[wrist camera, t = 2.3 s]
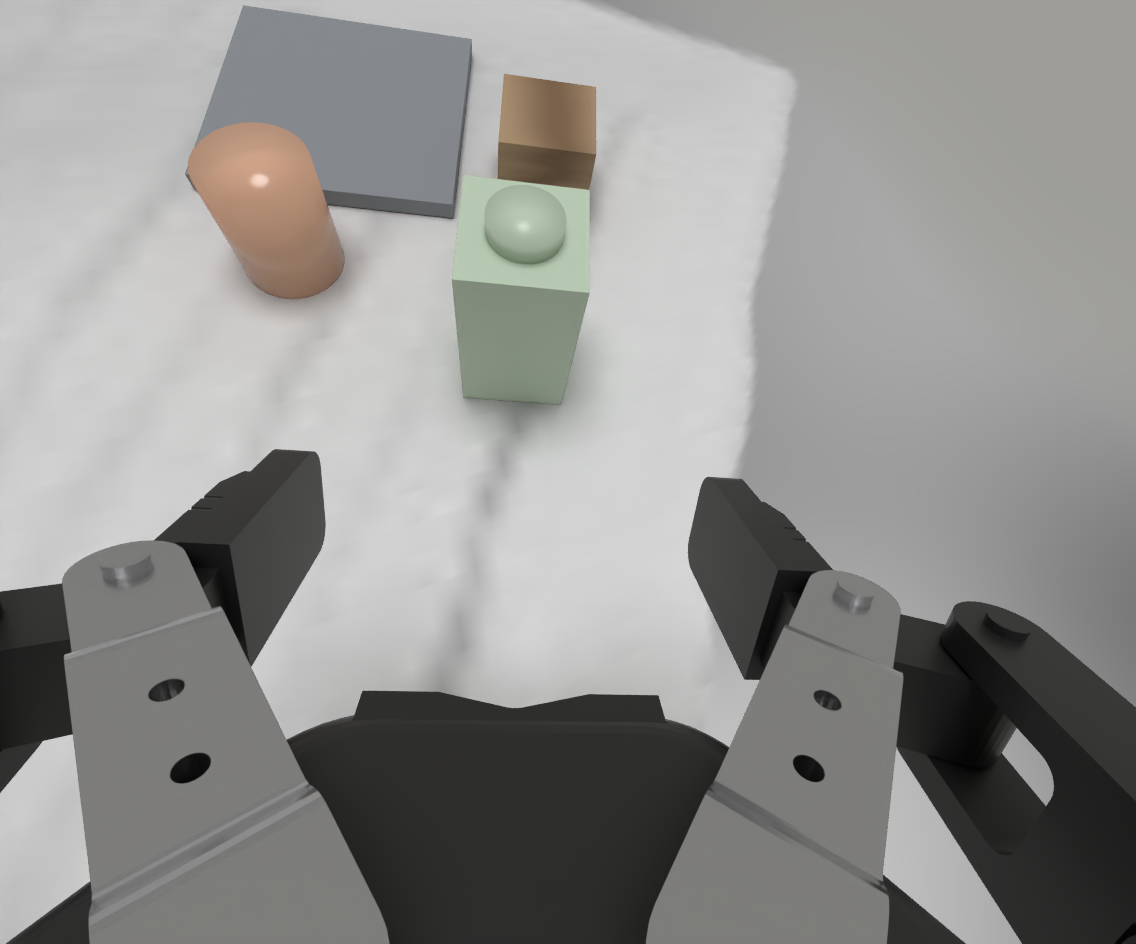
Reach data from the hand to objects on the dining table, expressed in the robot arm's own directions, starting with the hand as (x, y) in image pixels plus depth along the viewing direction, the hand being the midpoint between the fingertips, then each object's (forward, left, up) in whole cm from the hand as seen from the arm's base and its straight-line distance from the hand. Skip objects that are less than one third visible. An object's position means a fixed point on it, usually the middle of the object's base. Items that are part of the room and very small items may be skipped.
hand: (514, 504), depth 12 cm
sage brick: (0, +12, -14) cm, 19 cm away
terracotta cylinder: (-12, +17, -14) cm, 26 cm away
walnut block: (+1, +24, -14) cm, 28 cm away
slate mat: (-11, +28, -14) cm, 34 cm away
